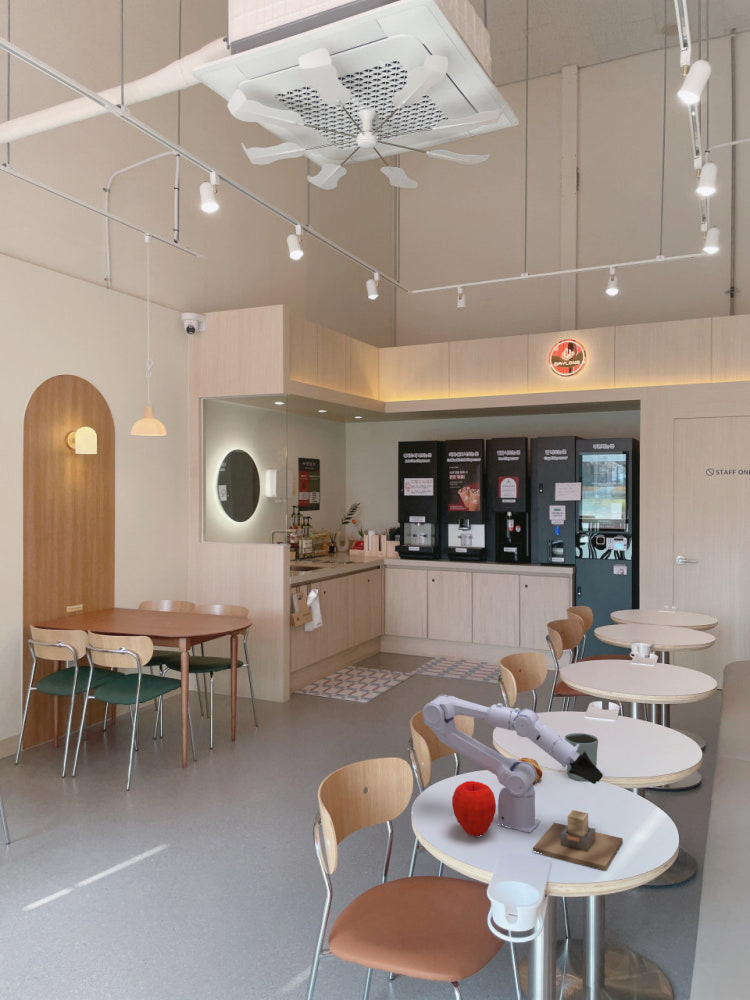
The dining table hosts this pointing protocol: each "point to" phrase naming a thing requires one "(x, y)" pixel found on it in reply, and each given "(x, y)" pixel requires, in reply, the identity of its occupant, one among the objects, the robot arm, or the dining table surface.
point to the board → (595, 857)
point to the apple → (474, 807)
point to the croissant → (535, 765)
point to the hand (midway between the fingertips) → (599, 779)
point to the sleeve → (578, 840)
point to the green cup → (583, 749)
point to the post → (578, 823)
